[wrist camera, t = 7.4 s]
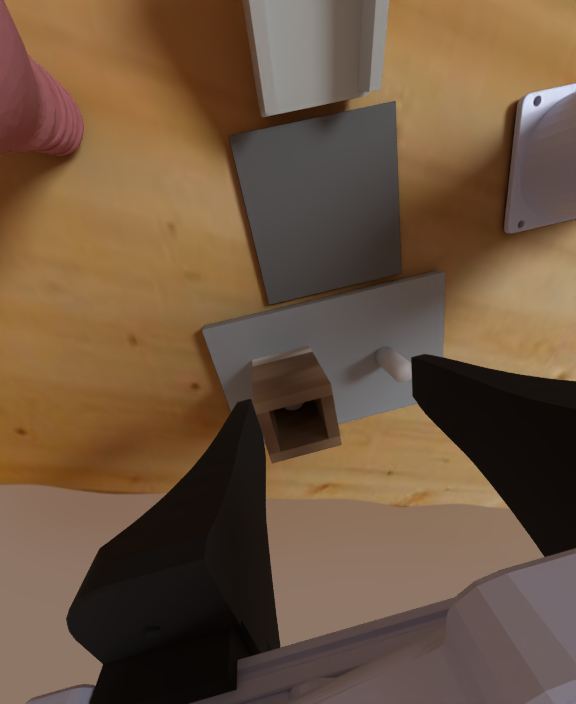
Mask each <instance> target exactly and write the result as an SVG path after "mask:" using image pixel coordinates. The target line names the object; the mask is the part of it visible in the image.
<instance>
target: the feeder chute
mask: <svg viewBox="0 0 576 704" xmlns="http://www.w3.org/2000/svg"><path fill="white" fill-rule="evenodd" d="M242 3H243V9H244V15H245V22H246V28H247V34H248V41H249V47H250V53H251V60H252V66H253V73H254V79H255V85H256V92H257V98H258V104H259V109H260V114H261V117H267V116H272V115H276V114H281V113H286V112H291V111H296V110H300V109H305V108H310V107H315V106H320V105H325V104H329V103H334V102H339V101H344V100H349V99H354V98H358V97H363V96H368V92H373V91H377V90H381V82H382V71H383V60H384V50H385V39H386V29H387V18H388V7H389V0H242Z"/></svg>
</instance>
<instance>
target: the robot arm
mask: <svg viewBox="0 0 576 704" xmlns="http://www.w3.org/2000/svg"><path fill="white" fill-rule="evenodd" d="M534 100H535V105H534V104H533V101H534ZM572 219H576V83H574V84H569V85H564V86H560V87H555V88H550V89H545V90H541V91H536V92H531V93H529V94H527V95H525V96H523V97H522V98H521V99H520V100H519V102H518V105H517V112H516V121H515V130H514V140H513V149H512V158H511V167H510V177H509V186H508V195H507V204H506V214H505V223H504V231H505V232H506V233H517V232H521V231H525V230H529V229H534V228H538V227H542V226H546V225H551V224H555V223H559V222H563V221H568V220H572ZM518 223H520V224H519V226H518ZM411 368H412V396H413V398H414V399H415V400H416V402H417V403H418V405H419V406H420V407H421V409H422V410H423V411H424V412H425V414H426V415H427V416H428V417H429V418H430V419H431V420H432V421H433V422H434V423H435V424H436V425H437V426H438V427H439V428H440V429H441V430H442V431H443V432H444V433H445V434H446V435H447V436H448V437H449V438H450V439H451V440H452V441H453V442H454V443H455V444H456V445H457V446H458V447H459V448H460V449H461V450H462V451H463V452H464V453H465V454H466V455H467V456H468V457H469V458H470V460H471V461H472V462H473V463H474V464H475V465H476V466H477V468H478V469H479V470H480V471H481V473H482V474H483V475H484V476H485V477H486V479H487V480H488V481H489V482H490V484H491V485H492V486H493V487H494V489H495V490H496V491H497V492H498V494H499V495H500V496H501V498H502V499H503V500H504V501H505V503H506V504H507V505H508V507H509V508H510V509H511V511H512V512H513V513H514V514H515V516H516V517H517V519H518V520H519V522H520V523H521V524H522V526H523V527H524V528H525V530H526V531H527V533H528V534H529V535H530V537H531V538H532V539H533V541H534V542H535V544H536V545H537V547H538V548H539V549H540V551H541V552H542V554H543V555H544V558H540V559H537V560H533V561H530V562H526V563H523V564H519V565H516V566H512V567H509V568H505V569H502V570H499V571H497V572H495V573H492V574H490V575H488V576H485V577H483V578H481V579H479V580H476V581H474V582H473V583H472V584H470V585H469V586H468V587H467V588H466V589H464V590H463V591H462V592H461V593H459V594H458V595H457V596H456V597H454V598H451V599H447V600H444V601H441V602H437V603H434V604H430V605H427V606H423V607H420V608H416V609H413V610H410V611H406V612H402V613H399V614H396V615H392V616H389V617H385V618H382V619H378V620H375V621H371V622H368V623H364V624H361V625H357V626H354V627H350V628H347V629H343V630H340V631H337V632H333V633H330V634H326V635H323V636H319V637H316V638H313V639H309V640H305V641H302V642H298V643H295V644H292V645H288V646H285V647H281V648H280V640H279V632H278V624H277V617H276V608H275V599H274V591H273V582H272V574H271V564H270V554H269V544H268V534H267V524H266V455H265V446H264V438H263V434H262V430H261V427H260V424H259V421H258V418H257V415H256V412H255V409H254V406H253V403H252V400H251V399H247V400H243V401H240V402H237V403H236V405H235V407H234V408H233V410H232V412H231V413H230V415H229V417H228V419H227V420H226V422H225V424H224V425H223V427H222V428H221V430H220V432H219V433H218V435H217V436H216V438H215V439H214V441H213V442H212V443H211V445H210V446H209V448H208V449H207V450H206V452H205V453H204V454H203V456H202V457H201V458H200V459H199V460H198V462H197V463H196V464H195V465H194V466H193V467H192V469H191V470H190V471H189V472H188V473H187V474H186V475H185V476H184V477H183V478H182V479H181V480H180V481H179V482H178V483H177V484H176V485H175V486H174V487H173V488H172V489H171V490H170V491H169V492H168V493H167V494H166V495H165V496H164V497H163V498H162V499H161V500H160V501H159V502H158V503H156V504H155V505H154V506H153V507H152V508H151V509H149V510H148V511H147V512H146V513H145V514H144V515H143V516H141V517H140V518H139V519H138V520H136V521H135V522H134V523H133V524H131V525H130V526H129V527H127V528H126V529H125V530H123V531H122V532H121V533H120V534H118V535H117V536H116V537H114V538H113V539H112V540H110V541H109V542H108V543H107V544H105V545H104V546H102V547H101V548H100V549H99V551H98V553H97V555H96V557H95V559H94V561H93V563H92V565H91V567H90V569H89V571H88V573H87V575H86V577H85V579H84V581H83V583H82V585H81V587H80V589H79V591H78V593H77V595H76V597H75V599H74V601H73V603H72V605H71V607H70V609H69V612H68V615H67V618H66V620H67V625H68V629H69V632H70V633H71V635H72V636H73V637H74V638H75V640H76V641H77V642H79V643H80V644H81V645H82V646H83V647H84V648H85V649H87V650H88V651H89V652H90V653H91V654H92V655H93V656H94V657H96V658H97V659H98V660H99V661H100V662H102V664H103V667H102V670H101V672H100V675H99V678H98V681H97V684H96V686H94V685H89V684H82V685H76V686H73V687H69V688H65V689H62V690H58V691H55V692H51V693H48V694H44V695H41V696H37V697H34V698H31V699H30V700H29V701H28V702H26V704H576V381H567V380H556V379H548V378H540V377H533V376H527V375H520V374H514V373H509V372H504V371H499V370H494V369H489V368H485V367H480V366H476V365H472V364H468V363H464V362H459V361H455V360H451V359H447V358H443V357H439V356H434V355H429V354H422V355H418V356H414V357H411Z"/></svg>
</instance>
